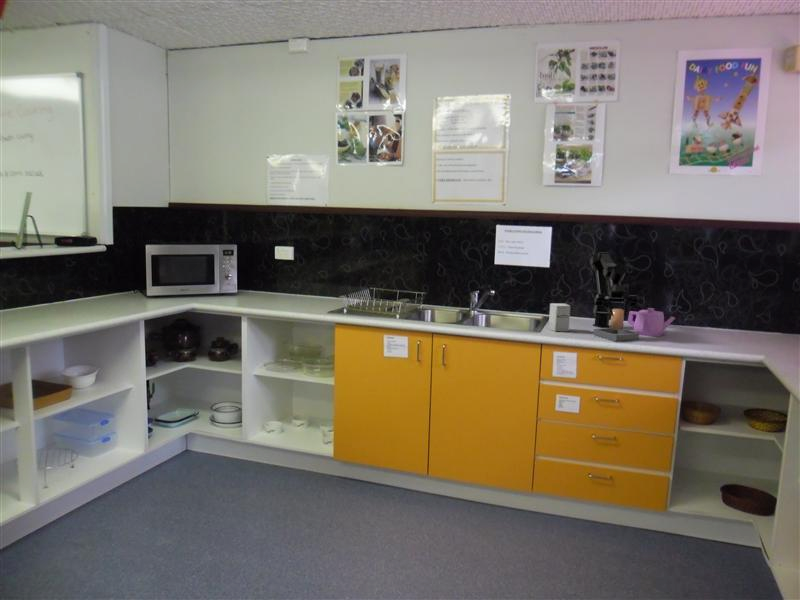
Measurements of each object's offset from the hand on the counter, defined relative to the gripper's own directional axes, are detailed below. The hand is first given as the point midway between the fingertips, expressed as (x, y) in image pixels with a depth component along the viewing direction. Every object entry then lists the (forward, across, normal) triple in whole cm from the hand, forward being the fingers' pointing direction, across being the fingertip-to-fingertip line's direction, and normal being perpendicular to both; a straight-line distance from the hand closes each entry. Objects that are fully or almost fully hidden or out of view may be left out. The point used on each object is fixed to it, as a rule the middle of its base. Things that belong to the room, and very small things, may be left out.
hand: (618, 315), depth 285 cm
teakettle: (-2, +19, +18) cm, 26 cm away
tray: (+7, 0, +8) cm, 11 cm away
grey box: (-1, -24, +17) cm, 30 cm away
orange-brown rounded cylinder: (+4, 0, +6) cm, 7 cm away
